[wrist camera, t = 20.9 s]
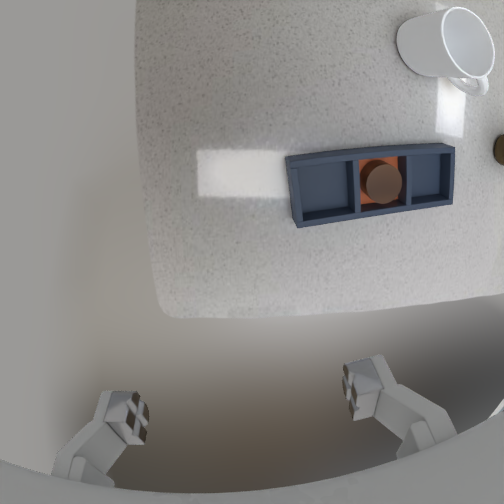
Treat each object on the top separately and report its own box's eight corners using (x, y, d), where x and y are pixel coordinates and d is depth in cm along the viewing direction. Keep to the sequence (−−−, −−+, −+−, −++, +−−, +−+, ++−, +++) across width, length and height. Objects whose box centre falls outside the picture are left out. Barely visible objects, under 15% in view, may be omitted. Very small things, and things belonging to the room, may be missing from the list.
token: (357, 161, 36) (365, 166, 33) (392, 158, 36) (402, 162, 33) (359, 199, 38) (366, 206, 36) (393, 195, 38) (402, 201, 36)
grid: (284, 156, 36) (289, 161, 33) (442, 142, 35) (455, 147, 33) (292, 219, 39) (297, 228, 37) (441, 197, 39) (452, 204, 36)
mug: (467, 77, 31) (517, 82, 21) (437, 110, 33) (487, 120, 24) (417, 9, 26) (464, -5, 17) (382, 39, 29) (428, 28, 20)
